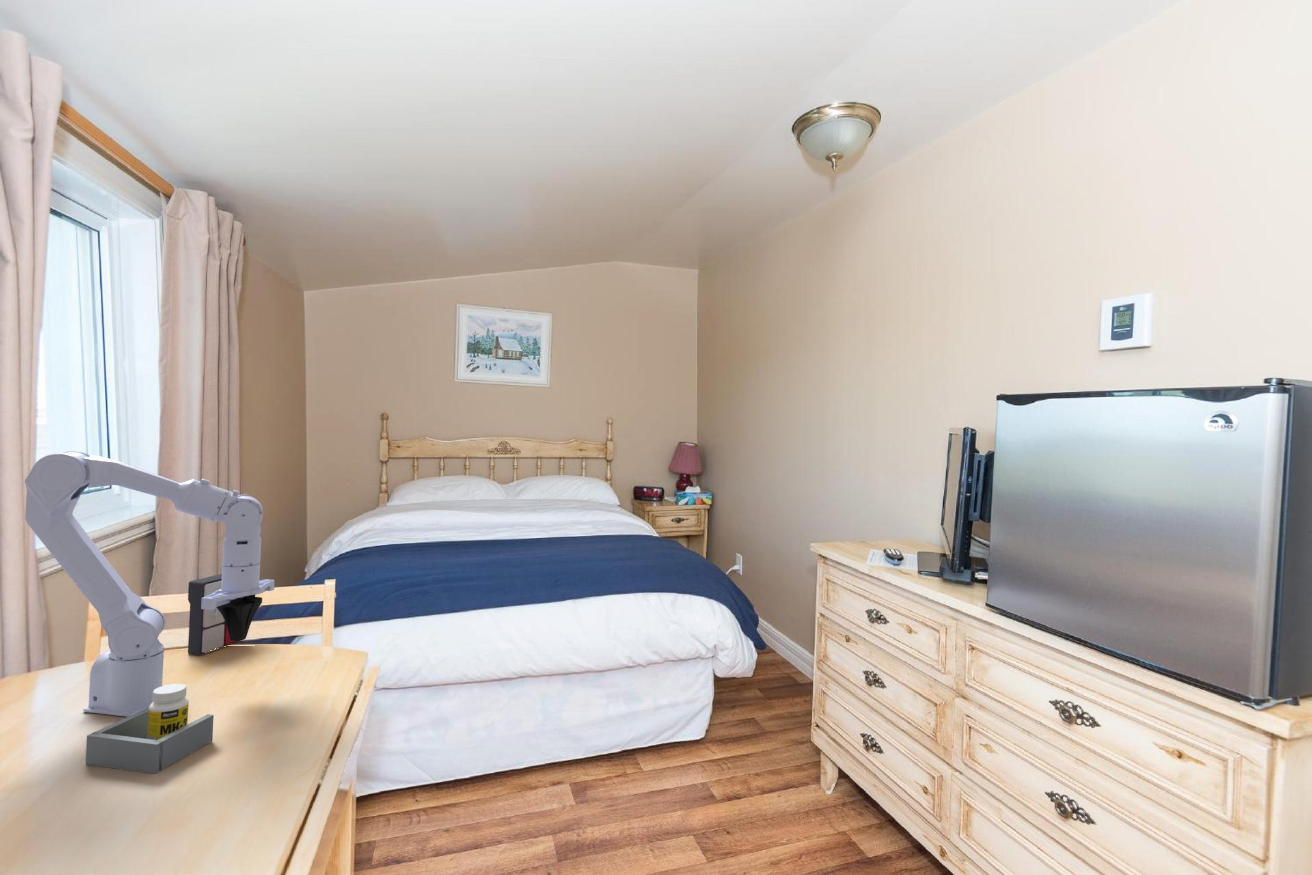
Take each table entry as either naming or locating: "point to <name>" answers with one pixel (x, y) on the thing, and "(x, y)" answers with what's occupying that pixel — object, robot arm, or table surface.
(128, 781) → the table surface
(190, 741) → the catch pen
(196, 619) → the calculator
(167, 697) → the supplement bottle
